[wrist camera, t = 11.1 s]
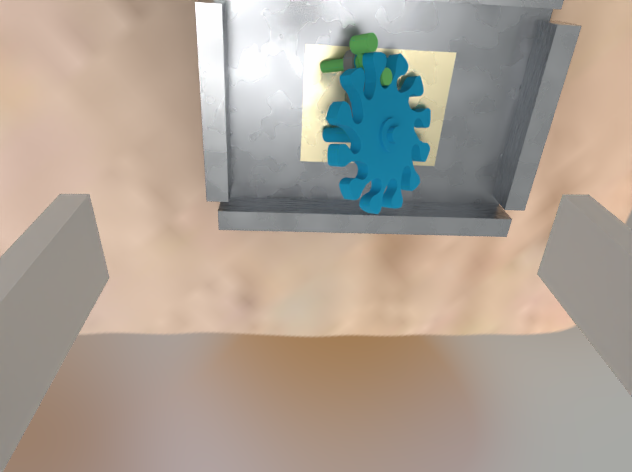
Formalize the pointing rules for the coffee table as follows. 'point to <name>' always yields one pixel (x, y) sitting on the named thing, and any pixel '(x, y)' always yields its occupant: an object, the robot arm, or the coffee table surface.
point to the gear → (375, 125)
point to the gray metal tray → (424, 60)
